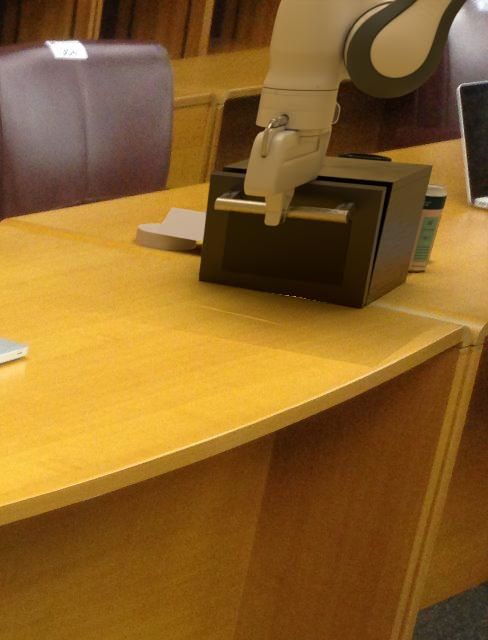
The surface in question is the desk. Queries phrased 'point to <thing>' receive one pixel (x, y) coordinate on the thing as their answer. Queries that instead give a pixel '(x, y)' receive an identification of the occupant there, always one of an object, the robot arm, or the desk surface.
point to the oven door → (293, 240)
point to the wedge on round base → (173, 231)
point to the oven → (397, 213)
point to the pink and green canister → (428, 227)
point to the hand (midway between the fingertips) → (274, 224)
